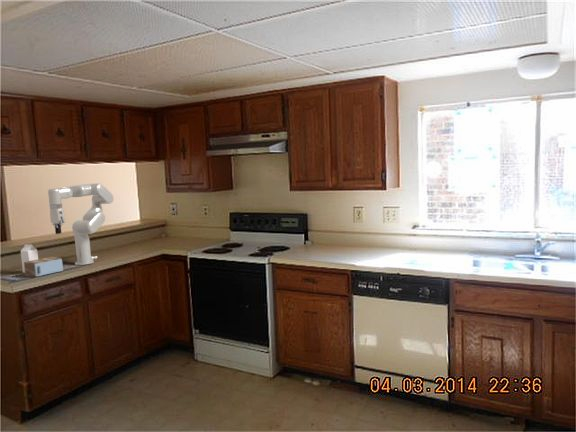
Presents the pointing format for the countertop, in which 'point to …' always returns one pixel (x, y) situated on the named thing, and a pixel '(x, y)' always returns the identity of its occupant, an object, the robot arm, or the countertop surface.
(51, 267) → the cabinet door
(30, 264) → the walnut cabinet
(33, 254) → the milk carton
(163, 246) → the countertop surface
